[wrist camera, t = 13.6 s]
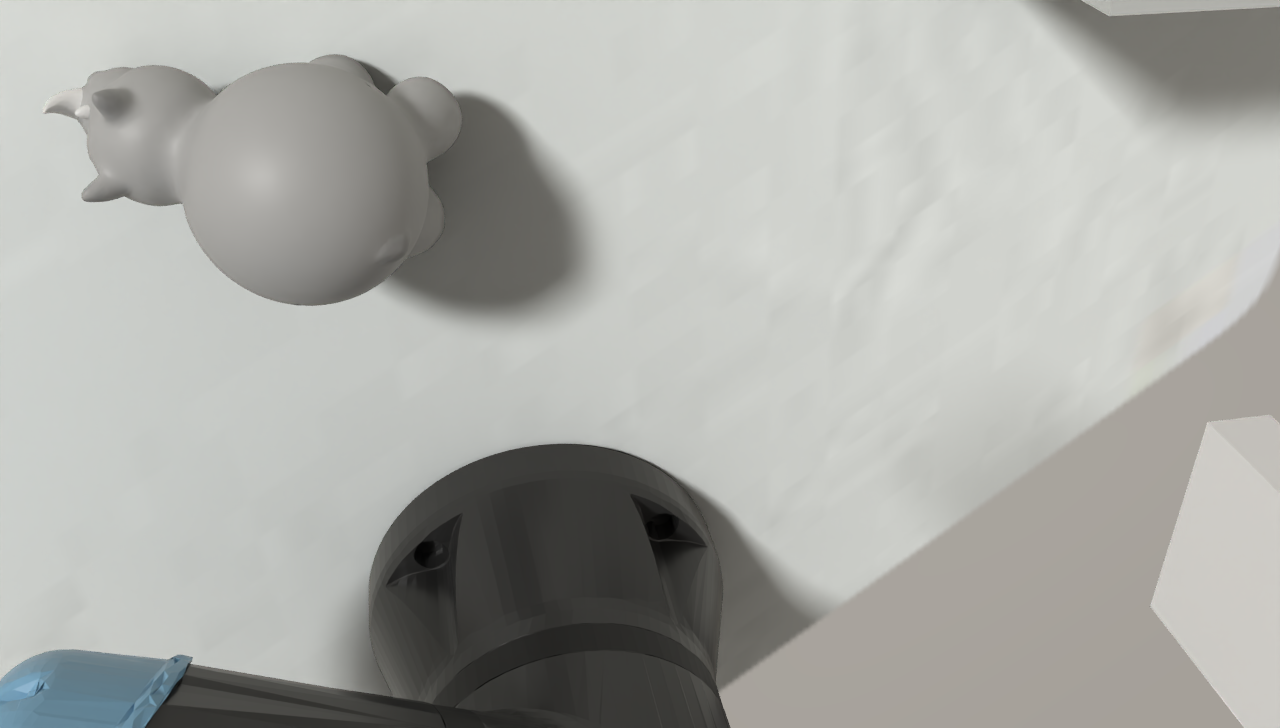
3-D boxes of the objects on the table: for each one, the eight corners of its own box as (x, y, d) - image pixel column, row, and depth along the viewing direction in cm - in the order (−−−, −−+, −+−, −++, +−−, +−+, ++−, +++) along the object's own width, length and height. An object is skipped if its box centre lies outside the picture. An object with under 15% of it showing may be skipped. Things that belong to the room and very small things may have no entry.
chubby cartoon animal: (151, -44, 40) (-22, -7, 32) (496, 79, 39) (404, 146, 32) (127, 159, 43) (-34, 237, 35) (446, 275, 43) (352, 378, 35)
